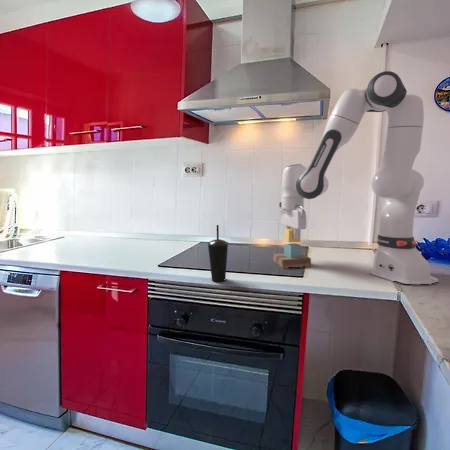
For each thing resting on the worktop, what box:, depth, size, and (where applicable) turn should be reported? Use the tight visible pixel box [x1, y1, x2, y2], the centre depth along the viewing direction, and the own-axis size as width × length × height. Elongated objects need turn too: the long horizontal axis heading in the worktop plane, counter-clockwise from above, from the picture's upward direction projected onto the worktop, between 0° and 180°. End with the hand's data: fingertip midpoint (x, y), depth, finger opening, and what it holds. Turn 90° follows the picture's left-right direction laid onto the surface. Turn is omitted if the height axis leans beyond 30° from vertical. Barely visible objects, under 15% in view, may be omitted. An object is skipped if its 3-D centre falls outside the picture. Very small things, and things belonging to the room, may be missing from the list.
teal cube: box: [283, 242, 302, 258], centre depth 134 cm, size 5×5×5 cm
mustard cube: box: [284, 228, 302, 243], centre depth 134 cm, size 5×5×5 cm
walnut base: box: [272, 252, 312, 268], centre depth 136 cm, size 12×12×4 cm
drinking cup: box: [206, 224, 230, 283], centre depth 114 cm, size 8×8×20 cm
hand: (292, 237), depth 134 cm, fingers closed on mustard cube, 5 cm apart
